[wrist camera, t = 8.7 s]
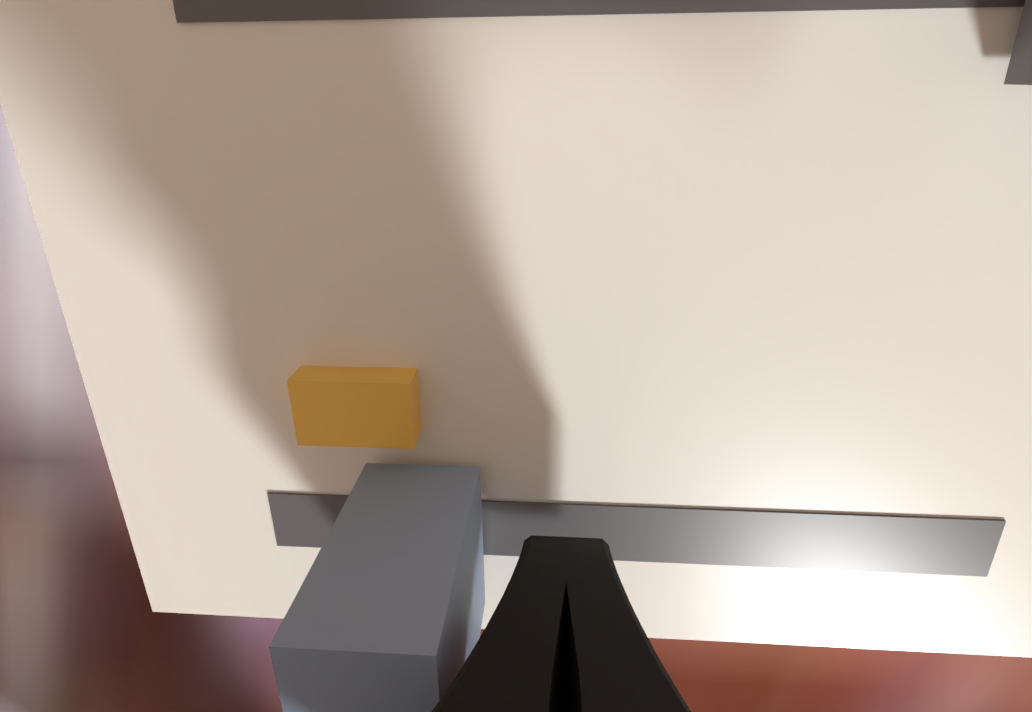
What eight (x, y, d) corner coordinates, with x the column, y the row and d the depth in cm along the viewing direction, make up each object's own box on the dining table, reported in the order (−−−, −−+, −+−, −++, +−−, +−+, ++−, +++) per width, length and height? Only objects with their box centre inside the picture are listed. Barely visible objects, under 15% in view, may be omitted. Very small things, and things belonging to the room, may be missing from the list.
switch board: (1154, 590, 14) (1275, 696, 12) (202, 547, 15) (134, 634, 13) (1613, -370, 8) (2058, -560, 6) (-4, -279, 10) (-194, -395, 7)
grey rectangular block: (484, 601, 12) (449, 821, 9) (382, 596, 13) (303, 810, 9) (479, 466, 11) (436, 656, 8) (366, 462, 11) (269, 646, 8)
